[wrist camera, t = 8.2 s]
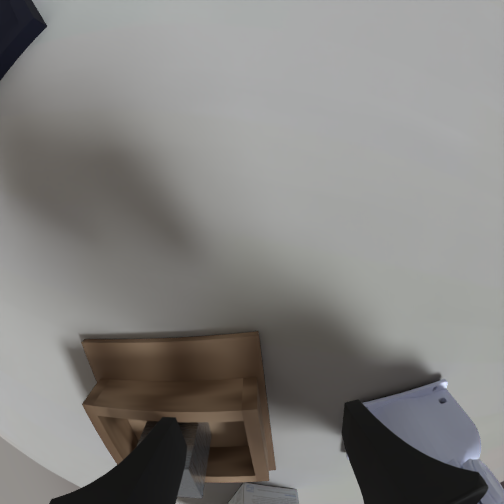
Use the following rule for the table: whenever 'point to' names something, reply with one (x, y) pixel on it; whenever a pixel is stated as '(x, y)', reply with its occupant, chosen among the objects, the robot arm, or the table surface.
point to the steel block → (191, 455)
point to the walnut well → (185, 397)
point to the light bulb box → (264, 495)
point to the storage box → (17, 30)
